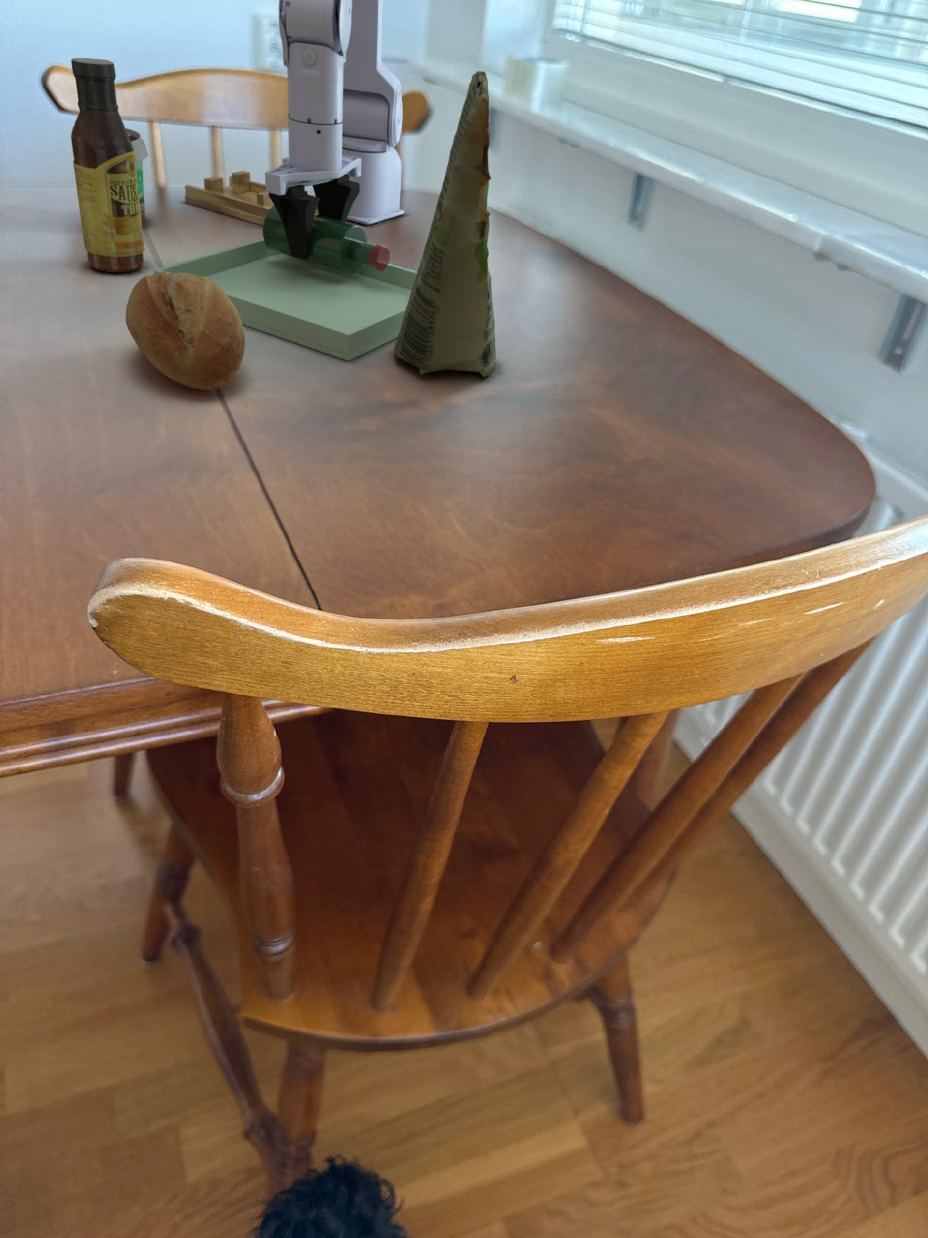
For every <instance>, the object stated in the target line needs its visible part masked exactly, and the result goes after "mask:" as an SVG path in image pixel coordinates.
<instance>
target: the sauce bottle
mask: <svg viewBox="0 0 928 1238" xmlns="http://www.w3.org/2000/svg"><path fill="white" fill-rule="evenodd" d="M70 62H71V70H72V74H73V77H74V79H75V88H76V94H77V106H78V109H79V113H78V115H77V117H76V119H75V121H74V125H73V127H72V130H71V134H70V141H71V142H70V143H71V148H72V155H73V162H72V165H73V170H74V171H73V172H74V179H75V185H76V193H77V202H78V209H79V215H80V223H81V230H82V237H83V245H84V249H85V251H86V253H87V255H86V256H87V257H86V258H87V261H88V264H89V266H90V267H92V268H93V269H95V270H98V271H101V272H103V271H104V272H109V273H124V272H133V271H136V270H139V269H141V268H142V267H143V266H144V261H145V260H144V259H145V258H144V253H145V242H144V241H145V240H144V232H143V227H142V221H141V211H140V201H139V191H138V181H137V171H136V160H135V151H134V149H133V146H132V144H131V141H130V139H129V136H128V134H127V131H126V129H125V128H126V127H125V125H124V122H123V120H122V117H121V114H120V113H119V106H118V103H117V94H116V93H117V92H116V85H115V81H116V77H117V74H116V68H115V67H116V66H115V63H114V62H113V61H111V60H109V59H103V58H91V57H90V58H89V57H74V58H71V60H70Z"/></svg>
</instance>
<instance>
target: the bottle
mask: <svg viewBox="0 0 928 1238" xmlns="http://www.w3.org/2000/svg"><path fill="white" fill-rule="evenodd" d="M263 238H264V241H265V244H266V246H267V247H268V248H269V249H270V250H272V251H274V252H278V253H281V254H284V255H287V256H291V253H290V249H289V245H288V241H287V237H286V233H285V230H284V227H283V224H282V221H281V219H280V216H279V214H278V212H277V210H276V208H275V206H272V207H271V208H270V209H269V211H268V212H267V214H266V216H265V219H264V223H263V225H262V239H263ZM367 238H368V237H367V235H366V231H365V230H364V229H363V228H362V226H360V225H357V224H354V223H350V222H347V221H346V222H343V221H339V220H336V219H332V218H329V217H325V216H322V215H318V214H315V215H314V219H313V225H312V233H311V247H310V254H309V258H308V259H301V258H297V257H294V256H291V257H294V258H297V259H301V260H304V261H307V262H310V263H314V264H317V265H320V266H324V267H327V268H330V269H333V270H337V271H340V272H343V273H347V274H354V273H355V272H357V271H358V270H359V269H360V267H361V266H362V264H365V265H369V266H371V267H372V268H373V269H376V270H379V271H383V270H385V269H386V267H387V266H388V263H390V258H391V253H390V250H389V248H388V247H387V246H385V245H382V244H376V245H375V244H371V243H368V239H367Z"/></svg>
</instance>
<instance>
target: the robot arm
mask: <svg viewBox="0 0 928 1238" xmlns="http://www.w3.org/2000/svg"><path fill="white" fill-rule="evenodd" d="M383 9H384V0H278V28H279V35H280V40H281V47H282V61H283V66H284V67H286V68H287V69H286V71H287V116H288V117H287V124H288V125H287V127H288V131H287V134H288V156H287V157H283V158H282V161H281V162H282V164H281V165H279V166H277V167H275V168H274V169H272V170H267V171H264V183H265V189H266V192H269V197H270V199H271V201H272V202H273V204H274V206H275V208H276V210H277V212H278V214H279V216H280V219H281V221H282V224H283V227H284V230H285V233H286V237H287V241H288V245H289V249H290V253H291V256H294V257H297V258H301V259H308V258H309V254H310V247H311V233H312V225H313V219H314V215H315V211H316V208H317V206H318V212H319V215H322V216H325V217H329V218H332V219H336V220H339V221H343V222H347V220H348V221H351V222H356V223H359V224H363V225H369V226H370V225H373V224H376V223H379V222H383V221H385V220H390V219H392V218H396V217H399V216H401V215H404V214H405V210H404V209H401V207H400V206H401V189H402V188H401V187H402V171H403V169H402V167H403V166H402V161H401V158H400V155H399V153H398V151H397V150H396V148H395V147H396V146H397V145H398V143H399V142H400V141H401V136H402V128H403V115H404V113H403V111H404V110H403V109H404V108H403V107H404V106H403V99H402V95H403V93H402V92H403V91H402V90H403V88H402V87H403V86H402V85H401V81H400V80H399V78H398V77H397V76H396V75H395V74H394V73H393V72H392V71H391V70H390V69H389V68H388V67H387V66H386V65H385V64H384V63H383V60H382V57H383V56H382V53H383V51H382V50H383V15H384V14H383V12H384V10H383ZM344 57H345V61H344ZM311 186H312V189H313V192H314V195H311V194H309V193H308V191H307V190H306V188H307V187H311Z"/></svg>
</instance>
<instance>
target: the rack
mask: <svg viewBox="0 0 928 1238" xmlns="http://www.w3.org/2000/svg"><path fill="white" fill-rule="evenodd" d="M228 179H229V180H228V181H229V185H226V186H224V178H223V177H221V176H217V175H215V176H211V177H210V176H209V177H206V178H203V185H204V186H203V187H204V188H202V187H199V186H196V185H192V184H185V185H184V190H185V192H184V193H185V194H184V203H185V204H188V205H192V206H196V207H199V208H202V209H204V210H205V209H206V210H209V211H212V212H215V213H219V214H223V215H226V216H229V217H232V218H237V219H239V220H243V221H247V222H250V223H254V224H257V225H260V226H263V223H264V219H265V216H266V214H267V212H268V211H269V209H270V208H271V207H272V206H274V204H273V202H272V201H271V199H270V197H269V192H266V189H265V184H264V183H261V182H257V181H253V180H251V173H250V171H246V170H241V171H236V172H232V173H231V175H230V176H229V177H228ZM315 214H318V215H319V212H318V206H317V208H316V211H315Z"/></svg>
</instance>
